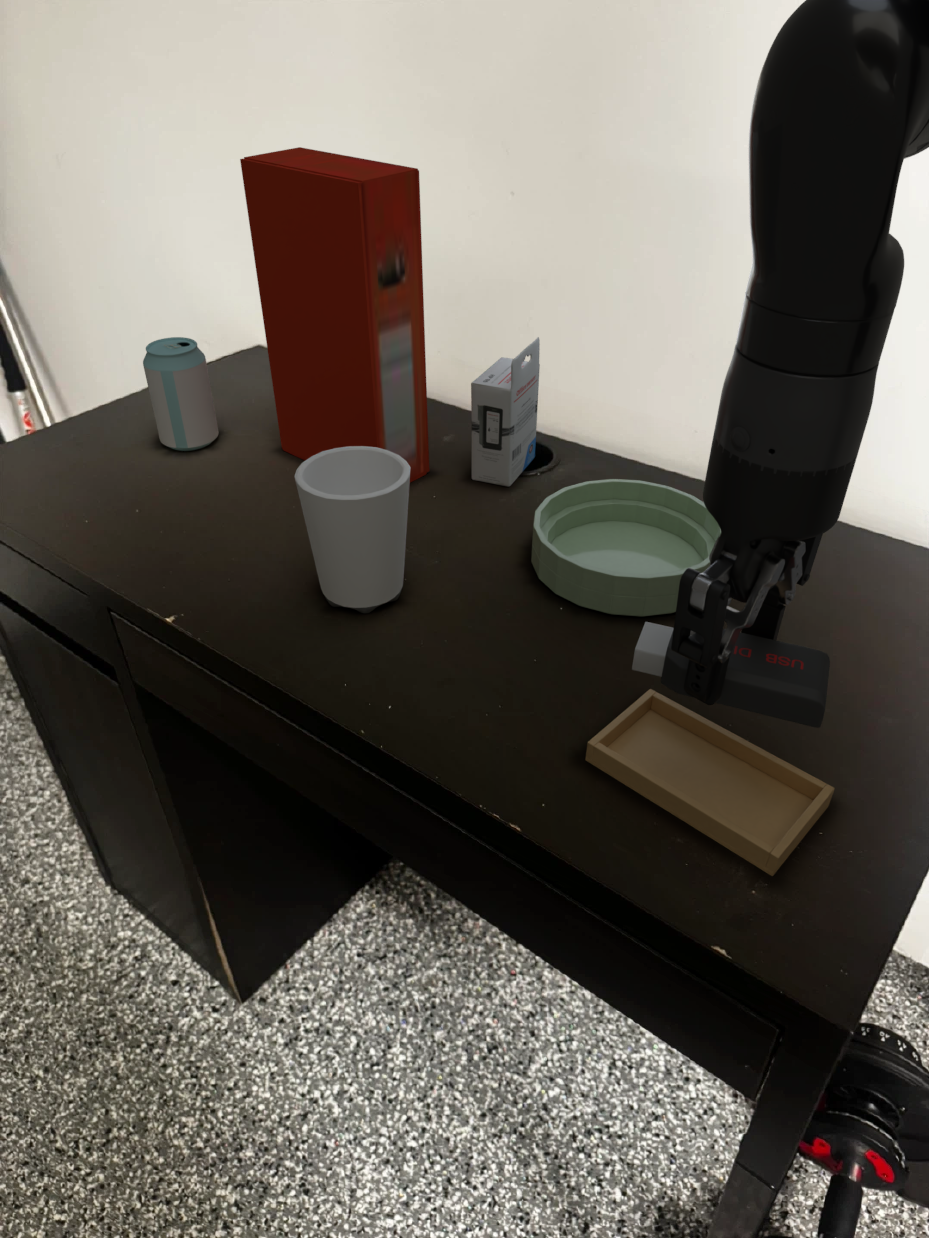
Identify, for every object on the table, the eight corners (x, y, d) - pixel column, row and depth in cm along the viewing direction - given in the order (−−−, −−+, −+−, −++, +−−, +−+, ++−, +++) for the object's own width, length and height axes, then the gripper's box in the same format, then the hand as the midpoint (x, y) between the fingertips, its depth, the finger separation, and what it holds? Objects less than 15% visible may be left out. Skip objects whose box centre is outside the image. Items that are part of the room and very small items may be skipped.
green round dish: (753, 561, 88) (762, 522, 85) (649, 644, 77) (656, 602, 74) (603, 499, 98) (607, 462, 95) (493, 565, 87) (495, 526, 84)
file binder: (378, 498, 98) (357, 181, 79) (280, 451, 107) (239, 157, 88) (429, 473, 103) (421, 168, 83) (330, 430, 112) (303, 146, 93)
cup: (290, 588, 84) (272, 467, 76) (375, 552, 89) (366, 435, 81) (349, 637, 78) (336, 511, 70) (436, 596, 83) (434, 473, 75)
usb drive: (819, 728, 55) (831, 695, 53) (628, 681, 58) (633, 648, 56) (825, 677, 58) (835, 645, 57) (645, 636, 62) (650, 604, 60)
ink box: (497, 449, 107) (500, 329, 99) (536, 457, 106) (543, 335, 97) (468, 480, 101) (469, 354, 92) (509, 488, 100) (514, 361, 91)
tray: (828, 806, 62) (835, 787, 61) (772, 876, 58) (778, 858, 57) (647, 706, 71) (650, 688, 70) (585, 760, 66) (587, 741, 65)
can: (170, 428, 112) (151, 334, 105) (225, 429, 112) (209, 335, 105) (153, 453, 107) (130, 355, 100) (210, 454, 106) (192, 356, 99)
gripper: (788, 505, 41) (724, 757, 51) (908, 413, 50) (833, 645, 60) (653, 455, 46) (618, 697, 56) (784, 378, 54) (733, 600, 64)
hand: (729, 669), depth 58 cm, fingers closed on usb drive, 6 cm apart
